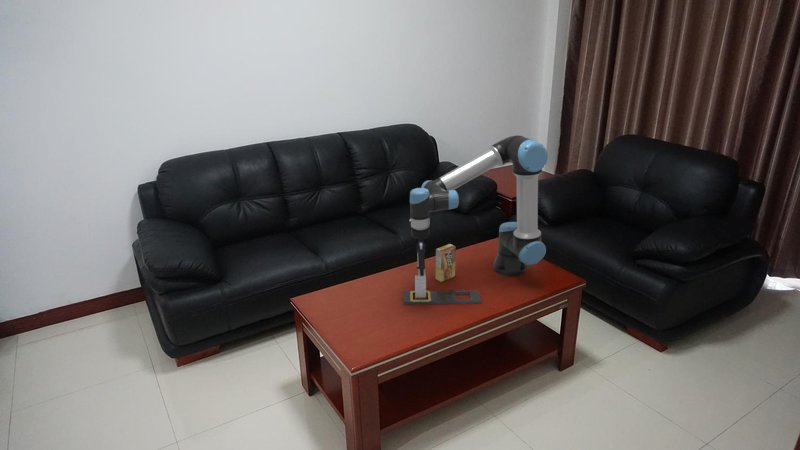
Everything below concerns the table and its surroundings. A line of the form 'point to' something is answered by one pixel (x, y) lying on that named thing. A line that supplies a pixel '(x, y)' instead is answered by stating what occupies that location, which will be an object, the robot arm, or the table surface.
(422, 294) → the steel block
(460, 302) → the rail
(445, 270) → the candy box
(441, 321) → the table surface
